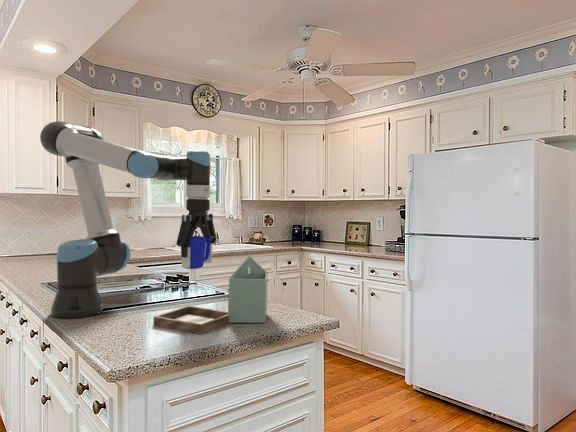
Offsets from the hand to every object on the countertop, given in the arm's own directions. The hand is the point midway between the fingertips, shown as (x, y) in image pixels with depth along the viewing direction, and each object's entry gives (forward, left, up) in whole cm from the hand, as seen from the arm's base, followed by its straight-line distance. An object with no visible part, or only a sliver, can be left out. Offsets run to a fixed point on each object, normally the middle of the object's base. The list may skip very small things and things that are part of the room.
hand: (197, 264), depth 145 cm
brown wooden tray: (+7, -9, -16) cm, 20 cm away
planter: (+21, +3, -16) cm, 27 cm away
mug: (0, 0, -1) cm, 1 cm away
